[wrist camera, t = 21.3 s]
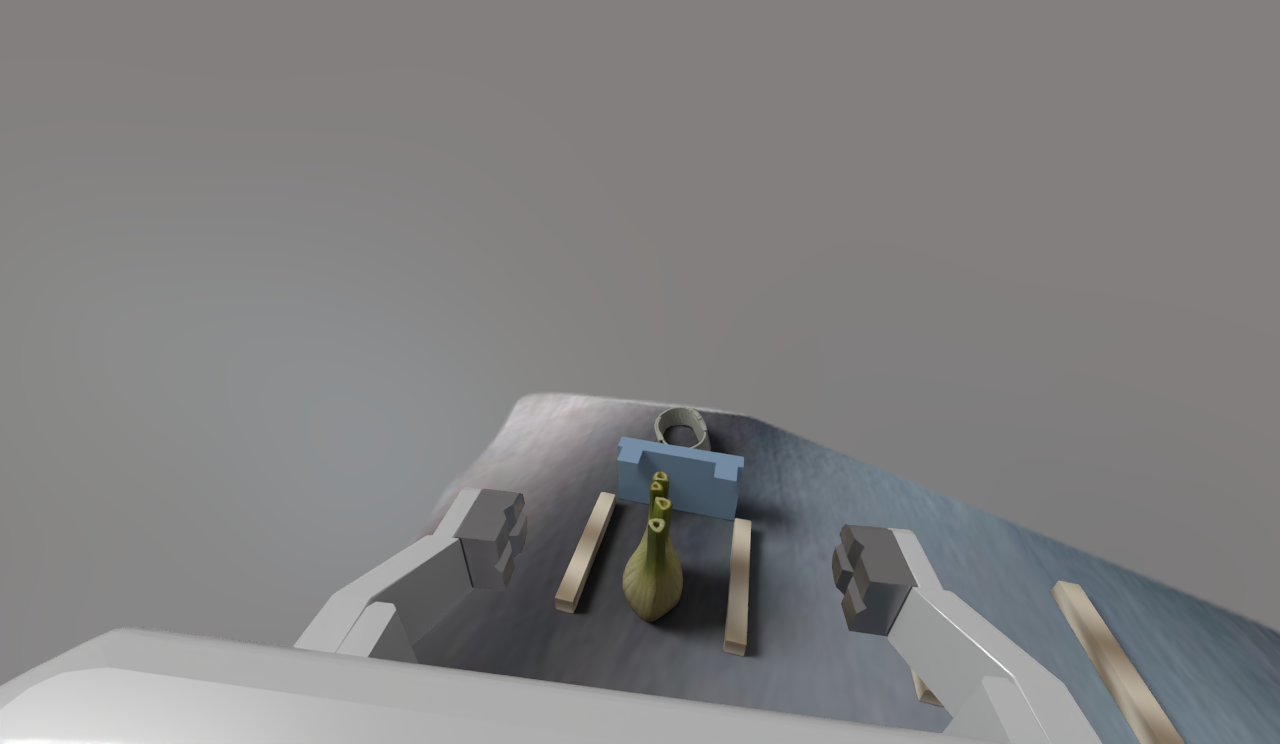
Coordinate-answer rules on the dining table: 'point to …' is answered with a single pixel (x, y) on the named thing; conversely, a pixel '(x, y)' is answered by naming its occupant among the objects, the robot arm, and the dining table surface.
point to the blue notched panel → (681, 476)
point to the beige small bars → (1083, 618)
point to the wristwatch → (686, 418)
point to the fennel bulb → (654, 560)
